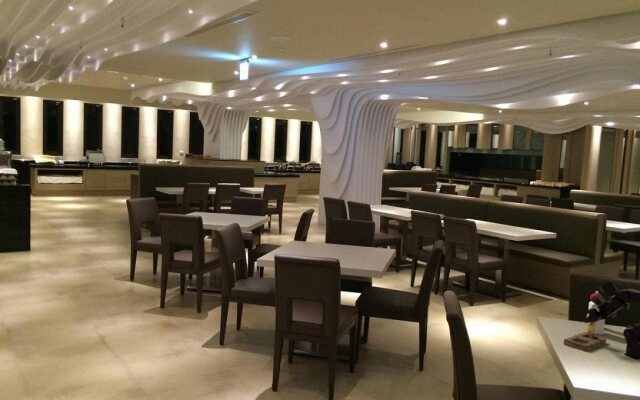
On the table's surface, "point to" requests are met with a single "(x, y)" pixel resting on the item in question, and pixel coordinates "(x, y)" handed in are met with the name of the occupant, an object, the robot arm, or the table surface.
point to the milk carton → (599, 323)
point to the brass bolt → (591, 330)
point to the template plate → (584, 342)
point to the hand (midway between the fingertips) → (589, 321)
